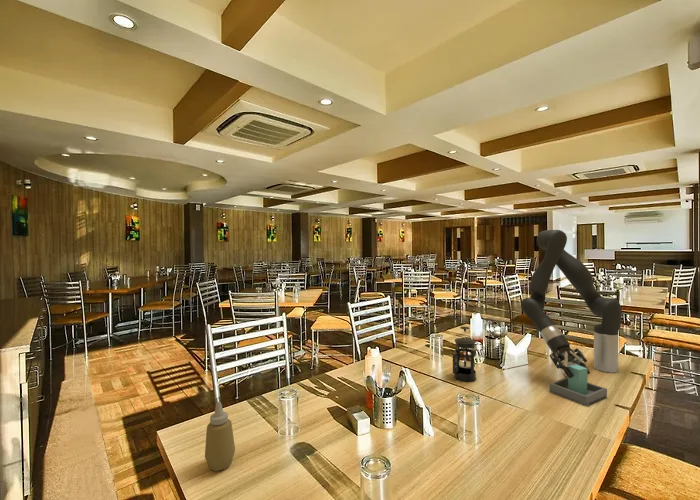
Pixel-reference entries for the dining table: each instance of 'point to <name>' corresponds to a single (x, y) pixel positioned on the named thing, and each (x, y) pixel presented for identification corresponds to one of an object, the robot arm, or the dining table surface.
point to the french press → (465, 368)
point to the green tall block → (578, 379)
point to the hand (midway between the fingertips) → (580, 375)
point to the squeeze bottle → (219, 440)
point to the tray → (590, 398)
